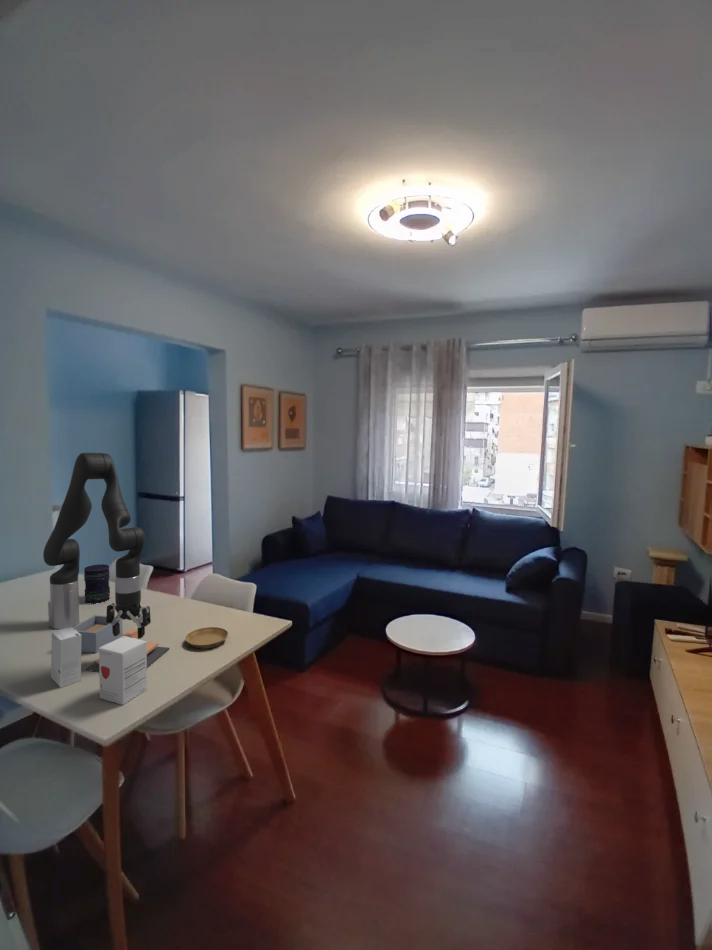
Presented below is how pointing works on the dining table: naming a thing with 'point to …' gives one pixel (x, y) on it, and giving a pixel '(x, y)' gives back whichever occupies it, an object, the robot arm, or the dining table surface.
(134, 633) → the peach handled lid
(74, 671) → the skincare box
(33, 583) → the dining table surface
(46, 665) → the dining table surface
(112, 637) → the slate storage box
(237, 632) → the dining table surface
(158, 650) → the black rubber mat
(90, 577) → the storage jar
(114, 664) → the supplement box
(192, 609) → the dining table surface
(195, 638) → the plant saucer
